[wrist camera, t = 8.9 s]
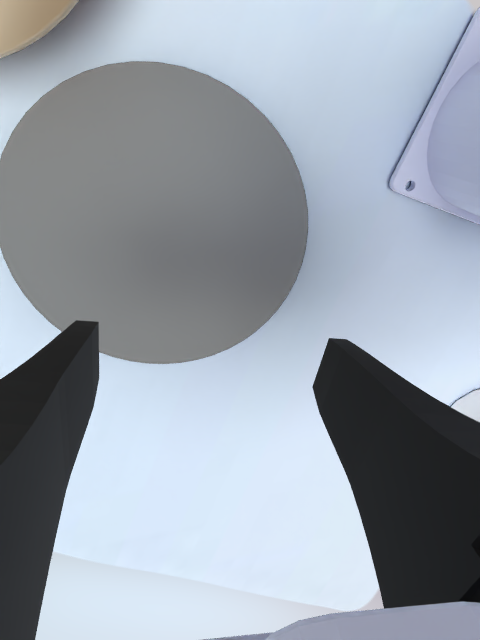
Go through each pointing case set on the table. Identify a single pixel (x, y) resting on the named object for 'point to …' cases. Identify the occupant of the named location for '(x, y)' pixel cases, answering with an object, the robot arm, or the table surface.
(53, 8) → the lid
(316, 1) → the table surface
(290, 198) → the mat
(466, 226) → the table surface
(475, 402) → the white cup
